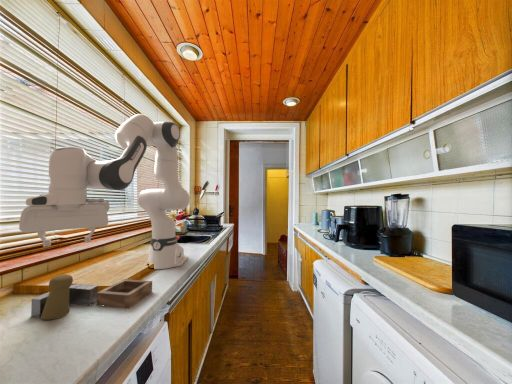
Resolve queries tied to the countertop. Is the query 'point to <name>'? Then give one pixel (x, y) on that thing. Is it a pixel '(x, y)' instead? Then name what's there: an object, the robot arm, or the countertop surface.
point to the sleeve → (118, 298)
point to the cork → (57, 297)
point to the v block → (76, 296)
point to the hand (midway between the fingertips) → (68, 243)
